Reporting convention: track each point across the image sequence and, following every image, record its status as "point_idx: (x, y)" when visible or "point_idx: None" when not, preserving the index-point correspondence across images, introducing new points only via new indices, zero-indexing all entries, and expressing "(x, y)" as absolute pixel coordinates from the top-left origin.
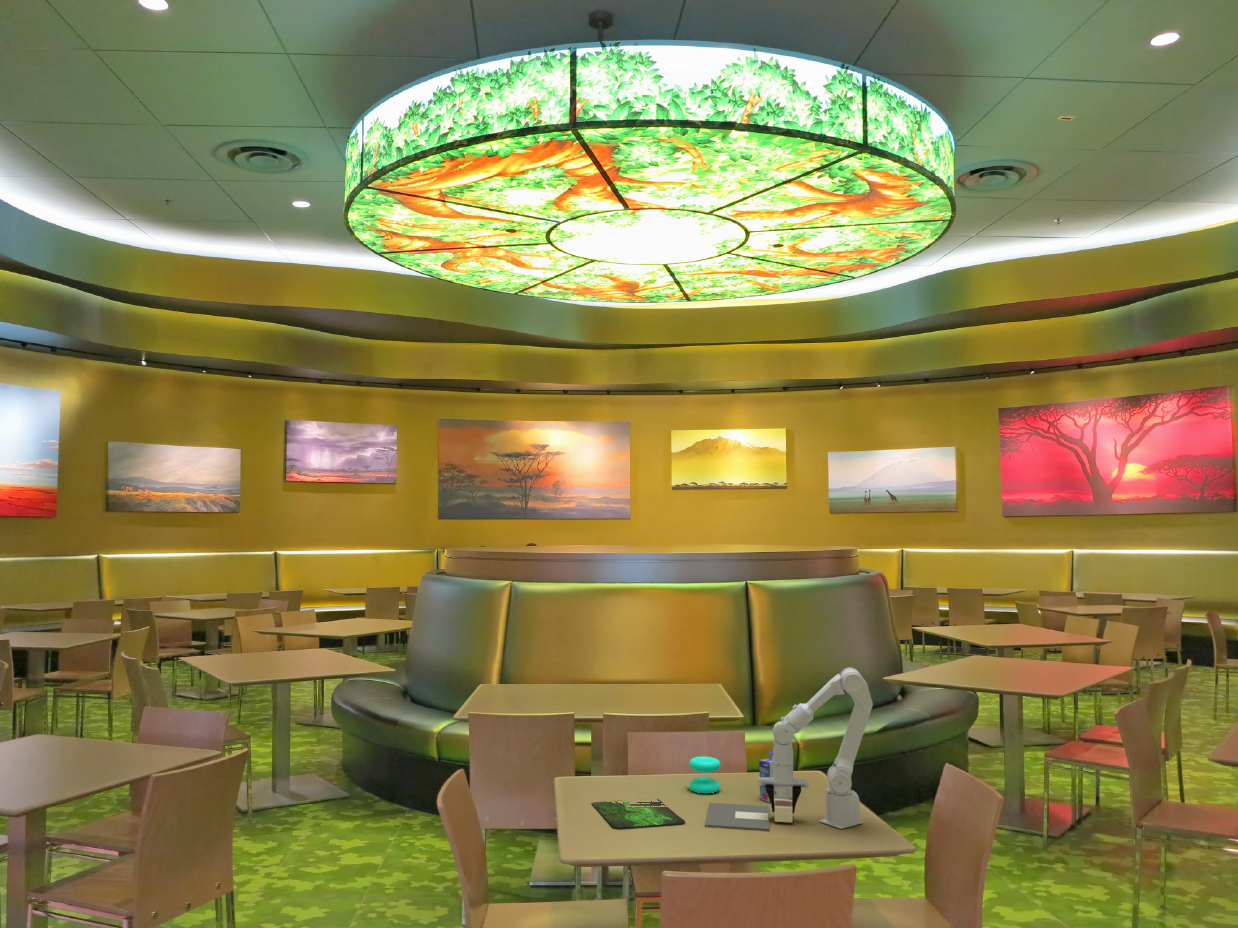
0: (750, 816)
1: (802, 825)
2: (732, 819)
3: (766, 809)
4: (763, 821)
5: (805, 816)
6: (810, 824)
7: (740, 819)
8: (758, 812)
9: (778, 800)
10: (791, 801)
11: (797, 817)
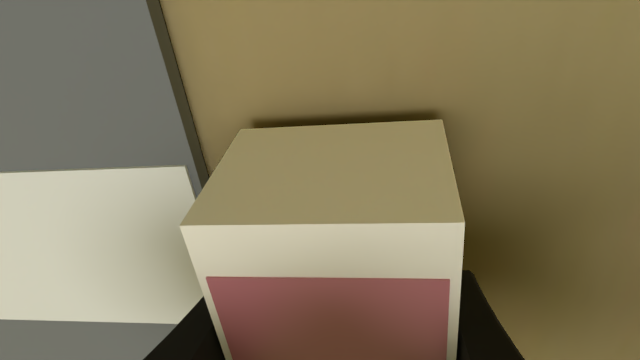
0: (78, 275)
1: (521, 331)
2: (1, 339)
3: (119, 2)
4: None
5: (624, 71)
6: (605, 302)
7: (46, 331)
8: (86, 146)
9: (259, 290)
10: (457, 296)
11: (507, 134)
